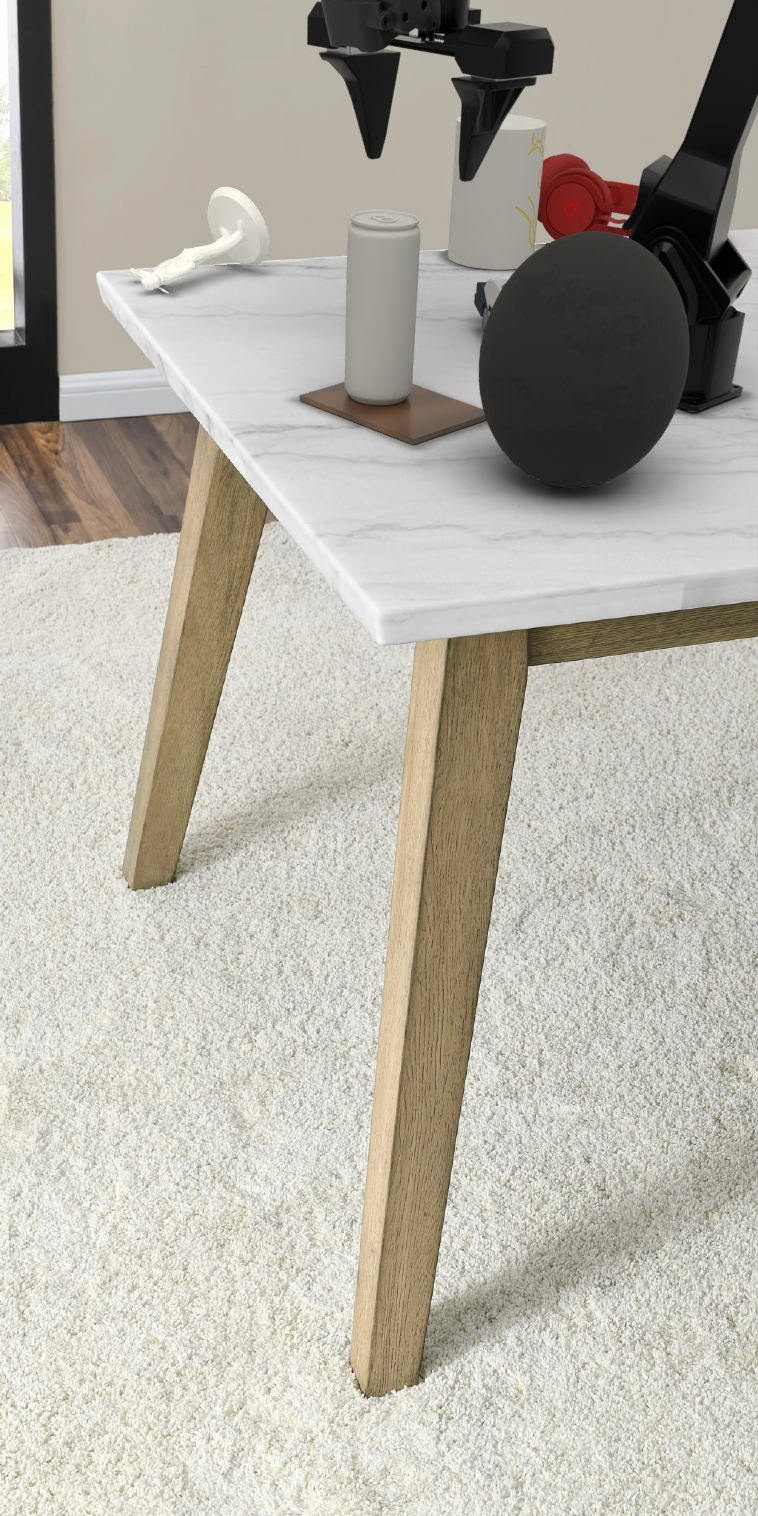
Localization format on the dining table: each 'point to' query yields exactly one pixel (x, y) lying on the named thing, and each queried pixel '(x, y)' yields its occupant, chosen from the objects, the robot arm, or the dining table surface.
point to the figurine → (218, 239)
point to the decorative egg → (583, 359)
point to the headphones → (581, 198)
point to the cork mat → (400, 413)
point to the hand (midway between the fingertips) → (418, 169)
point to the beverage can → (381, 305)
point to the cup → (499, 198)
